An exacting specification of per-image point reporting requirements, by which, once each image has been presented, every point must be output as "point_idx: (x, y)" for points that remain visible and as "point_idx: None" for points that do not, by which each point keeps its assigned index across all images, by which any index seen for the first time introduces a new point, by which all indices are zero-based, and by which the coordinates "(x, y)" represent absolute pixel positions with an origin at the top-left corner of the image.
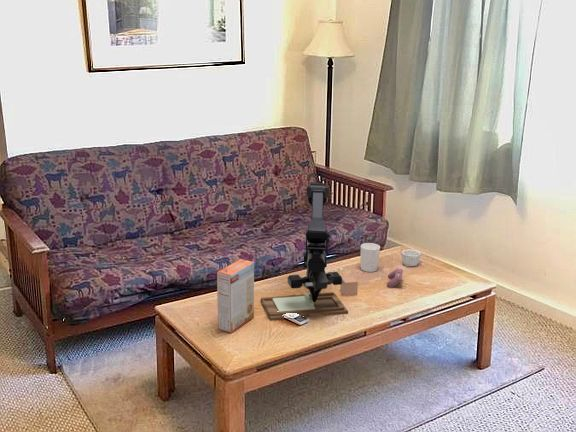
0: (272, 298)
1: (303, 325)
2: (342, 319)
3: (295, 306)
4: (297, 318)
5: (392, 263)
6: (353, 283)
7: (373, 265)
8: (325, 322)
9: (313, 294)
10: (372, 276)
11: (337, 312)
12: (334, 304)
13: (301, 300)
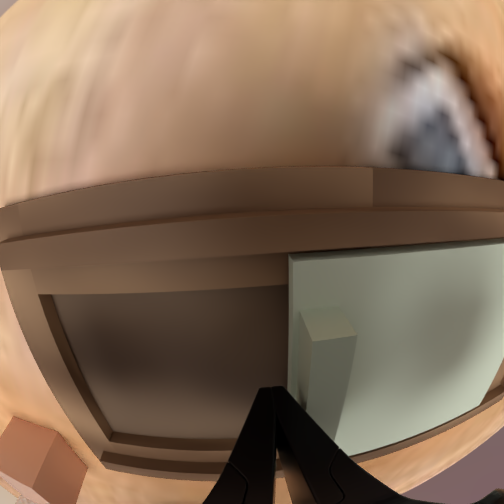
0: (479, 404)
1: (427, 41)
2: (54, 95)
3: (450, 320)
4: (452, 169)
5: None
6: (2, 465)
7: (24, 498)
8: (225, 31)
9: (315, 459)
10: None
11: (57, 194)
12: (88, 369)
13: (358, 417)
